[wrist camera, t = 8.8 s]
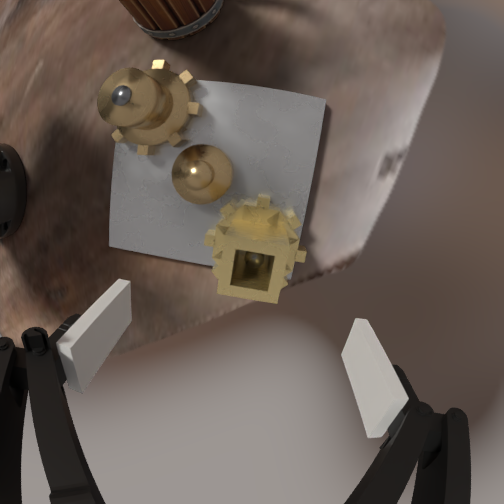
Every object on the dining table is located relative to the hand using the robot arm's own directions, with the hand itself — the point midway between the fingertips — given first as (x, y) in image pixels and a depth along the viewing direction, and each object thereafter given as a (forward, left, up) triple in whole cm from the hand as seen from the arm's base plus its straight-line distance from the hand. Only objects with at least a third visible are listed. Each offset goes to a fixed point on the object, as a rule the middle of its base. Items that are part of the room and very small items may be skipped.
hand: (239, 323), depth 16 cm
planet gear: (0, 0, -16) cm, 16 cm away
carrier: (-6, +6, -17) cm, 20 cm away
